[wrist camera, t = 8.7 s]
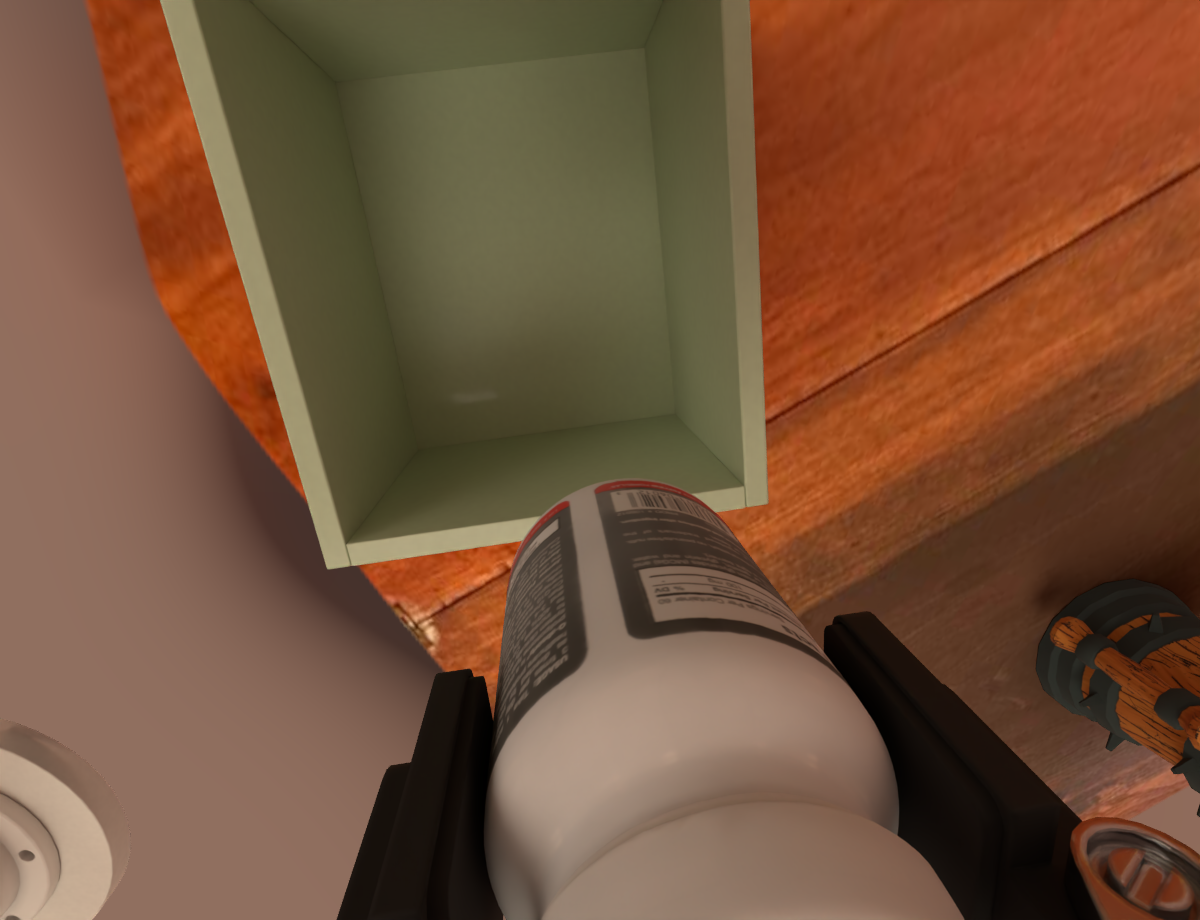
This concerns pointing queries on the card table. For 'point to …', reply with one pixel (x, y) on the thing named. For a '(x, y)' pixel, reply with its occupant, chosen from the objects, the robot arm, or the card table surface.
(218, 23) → the chest
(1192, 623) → the mug
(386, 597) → the card table surface
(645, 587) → the pill bottle
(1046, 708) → the card table surface
